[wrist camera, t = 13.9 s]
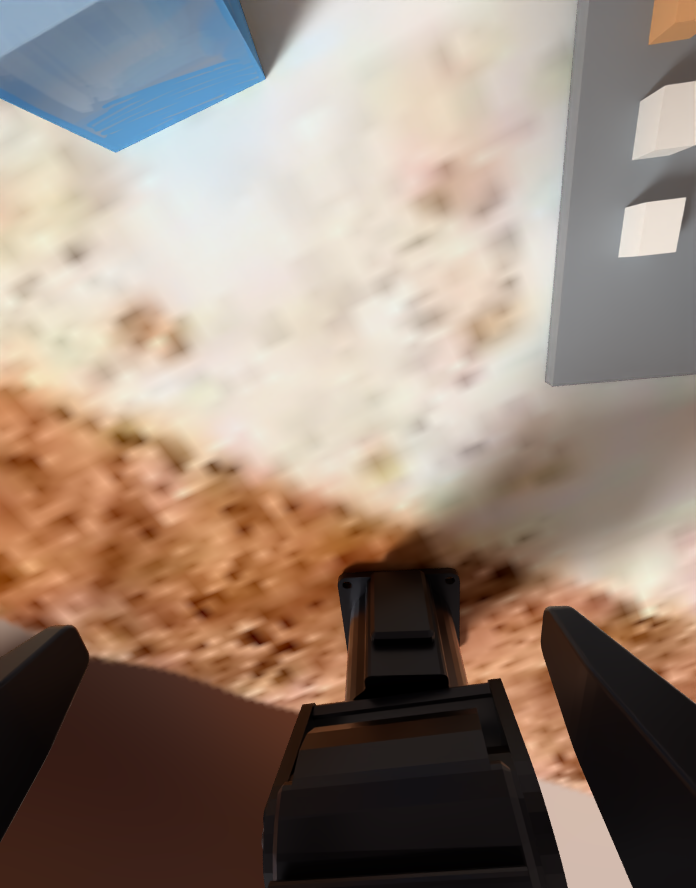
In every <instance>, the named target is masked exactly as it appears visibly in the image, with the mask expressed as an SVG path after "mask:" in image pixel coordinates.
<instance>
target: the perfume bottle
mask: <svg viewBox="0 0 696 888" xmlns="http://www.w3.org/2000/svg"><path fill="white" fill-rule="evenodd" d="M265 79H266V78H265V75H264V72H263V69H262V66H261V64H260V61H259V58H258V55H257V52H256V49H255V46H254V43H253V40H252V37H251V34H250V31H249V28H248V25H247V22H246V19H245V16H244V13H243V10H242V7H241V4H240V1H239V0H0V98H1V99H3V100H5V101H7V102H9V103H11V104H13V105H15V106H18V107H20V108H22V109H24V110H26V111H28V112H30V113H32V114H35V115H37V116H39V117H41V118H43V119H45V120H47V121H50V122H52V123H54V124H56V125H58V126H60V127H62V128H64V129H67V130H69V131H71V132H73V133H75V134H77V135H79V136H81V137H84V138H86V139H88V140H90V141H92V142H94V143H96V144H99V145H101V146H103V147H105V148H107V149H109V150H111V151H113V152H118V151H120V150H122V149H124V148H126V147H128V146H130V145H132V144H134V143H136V142H138V141H140V140H143V139H145V138H147V137H149V136H151V135H153V134H155V133H157V132H159V131H161V130H163V129H165V128H167V127H169V126H171V125H173V124H175V123H177V122H179V121H181V120H183V119H185V118H187V117H189V116H191V115H193V114H195V113H197V112H200V111H202V110H204V109H206V108H208V107H210V106H212V105H214V104H216V103H218V102H220V101H222V100H224V99H226V98H228V97H230V96H232V95H234V94H236V93H238V92H240V91H242V90H244V89H246V88H248V87H250V86H252V85H254V84H256V83H259V82H261V81H263V80H265Z"/></svg>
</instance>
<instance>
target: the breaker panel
mask: <svg viewBox="0 0 696 888" xmlns="http://www.w3.org/2000/svg"><path fill="white" fill-rule="evenodd" d="M693 374H696V0H578V6H577V17H576V29H575V40H574V52H573V64H572V75H571V87H570V98H569V110H568V122H567V133H566V145H565V156H564V168H563V179H562V191H561V203H560V214H559V226H558V237H557V249H556V261H555V272H554V284H553V295H552V307H551V318H550V330H549V342H548V353H547V365H546V376H545V382H546V383H548V384H549V385H551V386H564V385H576V384H588V383H599V382H611V381H623V380H634V379H646V378H658V377H670V376H681V375H693Z"/></svg>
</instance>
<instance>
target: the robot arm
mask: <svg viewBox="0 0 696 888" xmlns="http://www.w3.org/2000/svg"><path fill="white" fill-rule="evenodd" d="M447 577H453V578H451V579H446V578H447ZM344 582H350V583H349V584H346V583H344ZM338 590H339V597H340V604H341V611H342V617H343V624H344V631H345V638H346V645H347V651H348V660H347V676H346V692H345V701H344V702H336V703H329V704H321V705H316V704H315V703H311V704H303V705H302V707H301V710H300V713H299V716H298V718H297V721H296V724H295V726H294V729H293V732H292V735H291V737H290V740H289V743H288V746H287V748H286V751H285V754H284V757H283V760H282V762H281V765H280V768H279V770H278V773H277V776H276V779H275V782H274V784H273V787H272V790H271V793H270V796H269V799H268V801H267V804H266V807H265V810H264V817H263V822H264V829H263V834H262V848H263V874H264V882H265V888H568V887H567V882H566V878H565V874H564V870H563V866H562V862H561V858H560V854H559V851H558V847H557V843H556V840H555V836H554V833H553V829H552V826H551V822H550V819H549V816H548V812H547V809H546V806H545V802H544V799H543V796H542V793H541V790H540V786H539V783H538V780H537V777H536V774H535V771H534V768H533V766H532V763H531V760H530V757H529V754H528V752H527V749H526V746H525V743H524V741H523V738H522V735H521V733H520V730H519V727H518V724H517V722H516V719H515V716H514V713H513V711H512V708H511V705H510V703H509V700H508V697H507V694H506V692H505V689H504V686H503V683H502V681H501V678H499V679H491V680H488V683H480V684H473V685H468V682H467V677H466V673H465V669H464V665H463V660H462V656H461V652H460V648H459V620H460V580H459V576H458V573H457V571H456V570H454V569H452V568H440V569H418V570H397V571H376V572H355V573H343V574H342V575H340V576H339V579H338ZM541 648H542V653H543V656H544V659H545V662H546V665H547V668H548V671H549V675H550V678H551V681H552V684H553V687H554V690H555V693H556V696H557V699H558V703H559V706H560V709H561V712H562V715H563V718H564V721H565V724H566V727H567V730H568V734H569V736H570V739H571V742H572V745H573V748H574V751H575V753H576V756H577V758H578V761H579V763H580V766H581V768H582V770H583V773H584V775H585V777H586V780H587V782H588V784H589V787H590V789H591V791H592V794H593V796H594V798H595V801H596V803H597V805H598V808H599V810H600V812H601V814H602V817H603V819H604V821H605V824H606V826H607V829H608V831H609V833H610V836H611V838H612V840H613V843H614V845H615V847H616V850H617V852H618V854H619V857H620V859H621V861H622V864H623V866H624V868H625V871H626V873H627V875H628V878H629V880H630V882H631V885H632V887H633V888H696V703H694V702H693V701H692V700H690V699H689V698H688V697H687V696H685V695H684V694H683V693H681V692H680V691H679V690H678V689H676V688H675V687H674V686H672V685H671V684H670V683H669V682H667V681H666V680H665V679H663V678H662V677H661V676H660V675H658V674H657V673H656V672H654V671H653V670H652V669H651V668H649V667H648V666H647V665H646V664H644V663H643V662H642V661H640V660H639V659H638V658H637V657H635V656H634V655H633V654H631V653H630V652H629V651H628V650H626V649H625V648H624V647H622V646H621V645H620V644H619V643H617V642H616V641H615V640H613V639H612V638H611V637H610V636H608V635H607V634H606V633H604V632H603V631H602V630H601V629H599V628H598V627H597V626H595V625H594V624H593V623H592V622H590V621H589V620H588V619H586V618H585V617H584V616H583V615H581V614H580V613H579V612H577V611H576V610H575V609H573V608H572V607H569V606H550V607H547V608H546V609H545V610H544V615H543V624H542V633H541ZM88 663H89V653H88V650H87V648H86V646H85V644H84V642H83V640H82V638H81V636H80V634H79V632H78V630H77V629H76V628H75V627H74V626H72V625H55V626H51V627H48V628H46V629H45V630H43V631H41V632H40V633H38V634H37V635H35V636H34V637H32V638H30V639H29V640H27V641H26V642H24V643H22V644H21V645H19V646H18V647H16V648H15V649H13V650H11V651H10V652H8V653H7V654H5V655H4V656H2V657H0V842H1V840H2V838H3V836H4V834H5V833H6V831H7V829H8V827H9V825H10V823H11V821H12V820H13V818H14V816H15V814H16V812H17V811H18V809H19V807H20V805H21V803H22V801H23V799H24V798H25V796H26V794H27V792H28V790H29V789H30V787H31V785H32V783H33V781H34V779H35V777H36V776H37V774H38V772H39V770H40V768H41V766H42V765H43V763H44V761H45V759H46V757H47V755H48V753H49V751H50V749H51V747H52V744H53V742H54V740H55V738H56V736H57V734H58V732H59V729H60V727H61V725H62V723H63V721H64V718H65V716H66V714H67V712H68V709H69V707H70V705H71V703H72V700H73V698H74V696H75V694H76V692H77V689H78V687H79V685H80V683H81V680H82V678H83V676H84V674H85V672H86V669H87V667H88Z"/></svg>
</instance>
